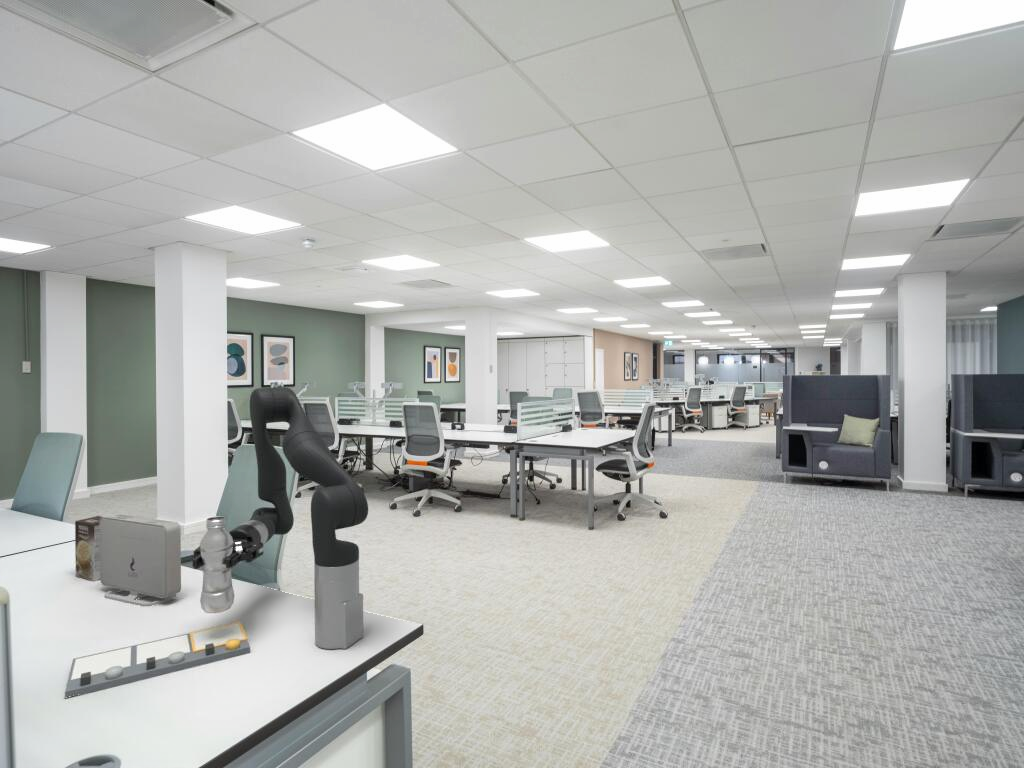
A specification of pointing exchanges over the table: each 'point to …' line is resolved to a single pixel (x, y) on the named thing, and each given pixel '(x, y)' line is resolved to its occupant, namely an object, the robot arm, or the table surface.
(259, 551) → the robot arm
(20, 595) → the table surface
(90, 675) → the board
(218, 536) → the plastic bottle
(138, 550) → the network device
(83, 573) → the coffee box
